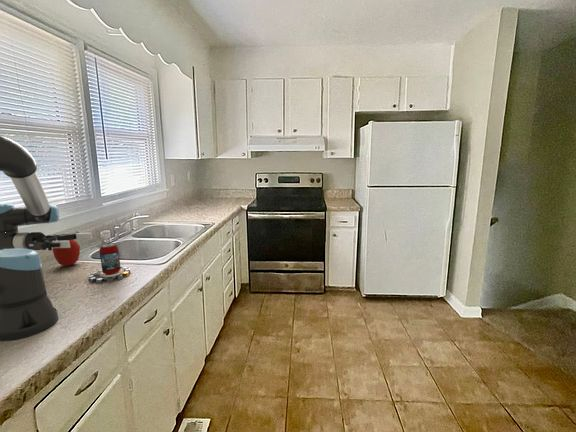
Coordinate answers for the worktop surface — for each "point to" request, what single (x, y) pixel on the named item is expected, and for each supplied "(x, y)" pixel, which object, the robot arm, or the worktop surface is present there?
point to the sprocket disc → (102, 277)
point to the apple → (67, 254)
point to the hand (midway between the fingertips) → (81, 239)
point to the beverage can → (109, 258)
